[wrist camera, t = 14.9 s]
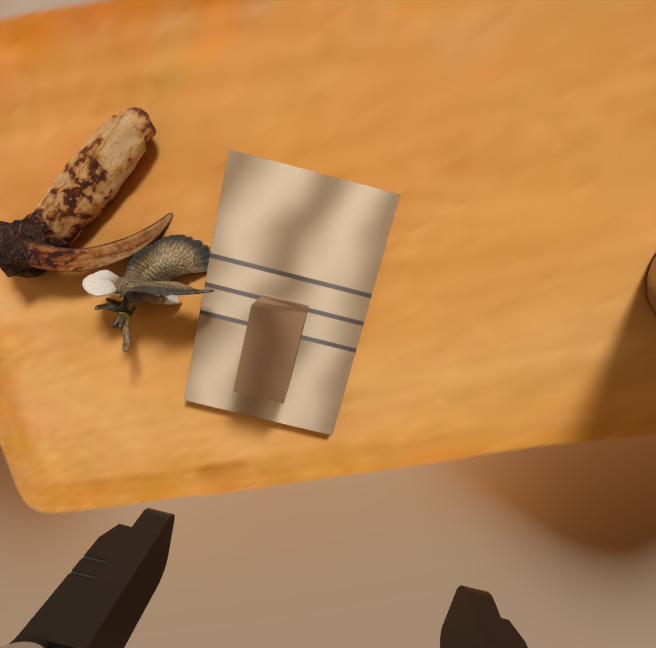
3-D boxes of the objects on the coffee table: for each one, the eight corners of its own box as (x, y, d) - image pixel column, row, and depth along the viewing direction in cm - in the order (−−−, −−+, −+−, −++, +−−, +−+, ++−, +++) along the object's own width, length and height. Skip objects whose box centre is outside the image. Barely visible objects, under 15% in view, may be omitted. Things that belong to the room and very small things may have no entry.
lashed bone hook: (83, 320, 36) (215, 181, 33) (47, 335, 31) (196, 176, 28) (-1, 244, 34) (130, 89, 31) (-52, 249, 30) (95, 67, 26)
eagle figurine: (165, 356, 35) (237, 302, 32) (85, 348, 28) (164, 280, 25) (145, 287, 37) (209, 232, 34) (68, 266, 31) (138, 197, 28)
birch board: (397, 196, 32) (399, 194, 31) (332, 429, 37) (331, 435, 36) (232, 152, 32) (228, 149, 30) (188, 394, 37) (183, 400, 35)
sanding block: (309, 305, 33) (304, 318, 28) (290, 380, 35) (283, 403, 30) (263, 294, 33) (251, 304, 28) (247, 369, 35) (233, 391, 30)
